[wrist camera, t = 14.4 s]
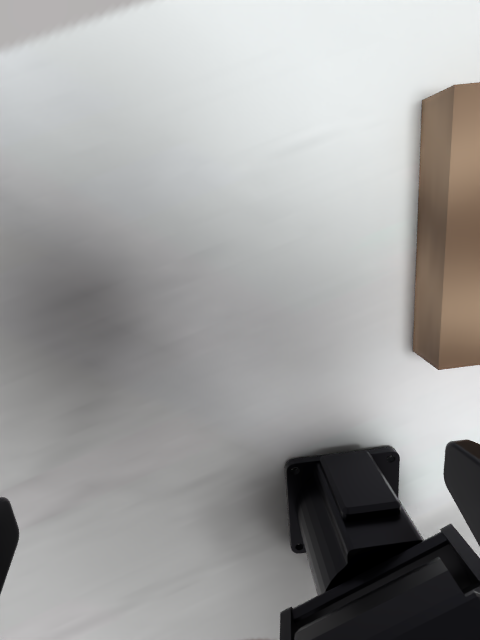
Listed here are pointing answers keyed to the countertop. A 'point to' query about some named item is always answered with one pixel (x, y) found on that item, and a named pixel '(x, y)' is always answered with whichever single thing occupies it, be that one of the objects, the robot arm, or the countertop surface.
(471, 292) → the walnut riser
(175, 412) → the countertop surface
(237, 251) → the countertop surface
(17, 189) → the countertop surface
